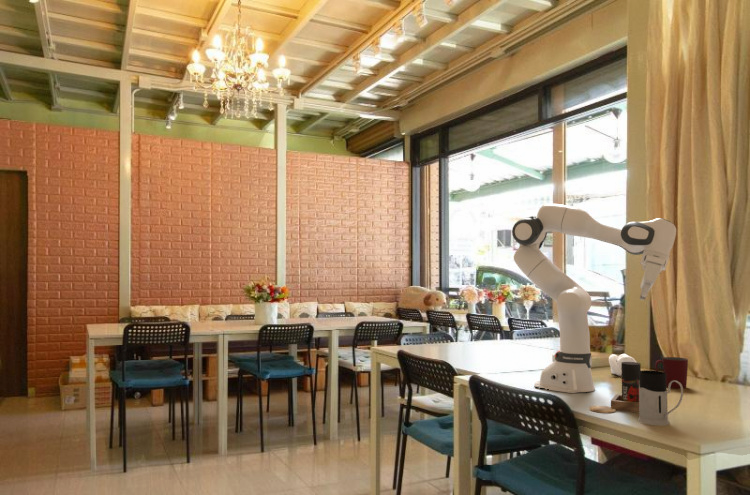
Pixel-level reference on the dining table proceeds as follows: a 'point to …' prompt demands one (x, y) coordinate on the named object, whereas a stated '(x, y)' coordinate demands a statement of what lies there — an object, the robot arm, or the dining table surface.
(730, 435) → the dining table surface
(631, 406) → the holder frame
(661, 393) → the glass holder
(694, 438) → the dining table surface
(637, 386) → the deodorant
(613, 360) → the white lumpy blob
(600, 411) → the cork coaster
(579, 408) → the dining table surface
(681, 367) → the mug
